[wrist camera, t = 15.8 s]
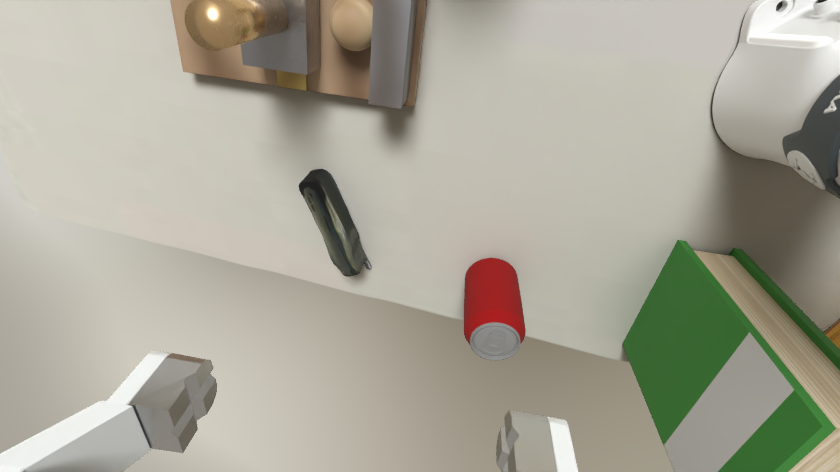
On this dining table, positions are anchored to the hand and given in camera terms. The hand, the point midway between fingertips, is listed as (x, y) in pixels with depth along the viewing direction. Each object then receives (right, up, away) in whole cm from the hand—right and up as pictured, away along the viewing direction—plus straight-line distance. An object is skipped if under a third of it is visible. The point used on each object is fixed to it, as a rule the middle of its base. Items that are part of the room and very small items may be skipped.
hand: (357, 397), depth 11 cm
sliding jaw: (-10, +25, +27) cm, 38 cm away
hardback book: (+35, -4, +42) cm, 55 cm away
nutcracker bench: (-11, +27, +29) cm, 41 cm away
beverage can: (+11, -1, +43) cm, 45 cm away
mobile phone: (-8, +7, +41) cm, 43 cm away
